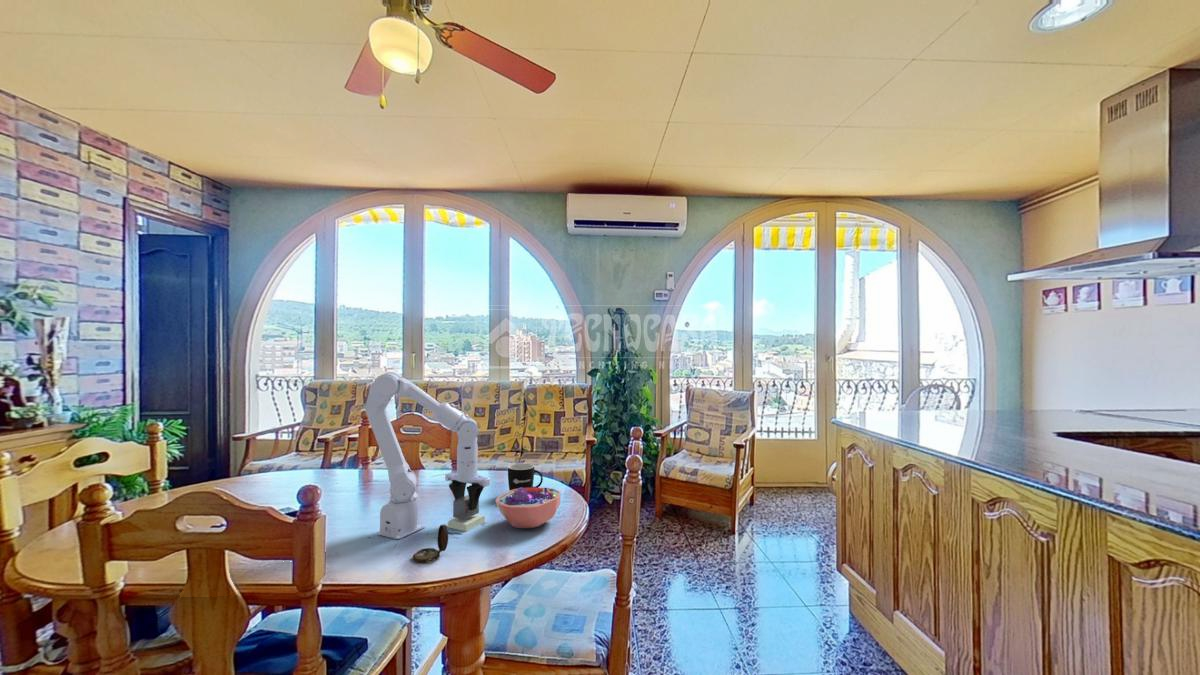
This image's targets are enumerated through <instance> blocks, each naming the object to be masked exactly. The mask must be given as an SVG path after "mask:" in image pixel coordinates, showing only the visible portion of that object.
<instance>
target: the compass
mask: <svg viewBox="0 0 1200 675" xmlns="http://www.w3.org/2000/svg"><path fill="white" fill-rule="evenodd" d="M448 544H449V530H448V525H446V524H440V525H439V527H438V531H437V548H438V549H437V548H434V547H426V548H421V549H419V550H417V551H416V552H415V553H414V554H412V560H413V561H414V562H416V563H417V564H418V563H419V564H425V563H427V564H428V563H430V564H431V563H433V562H435V561H436V560H437V559H438V558H439V557H440V555H441V552H445V551H446V550H447V547H448Z"/></svg>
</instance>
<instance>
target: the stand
mask: <svg viewBox="0 0 1200 675" xmlns="http://www.w3.org/2000/svg"><path fill="white" fill-rule="evenodd" d="M485 520H486V518H485V515H484V514H483V515H482V514H479V513H478V514H475V515H473V516H471V517H469V518H467V519H460V518H454V517H453V518H451V519H449V520H448V521H447V529H448V528H449V529H454V530H457V531H458V530H459V531H463V532H468V531H471V530H472V529H474V528H475V527H477V526H479V525H481V524H483V523H485Z"/></svg>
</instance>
